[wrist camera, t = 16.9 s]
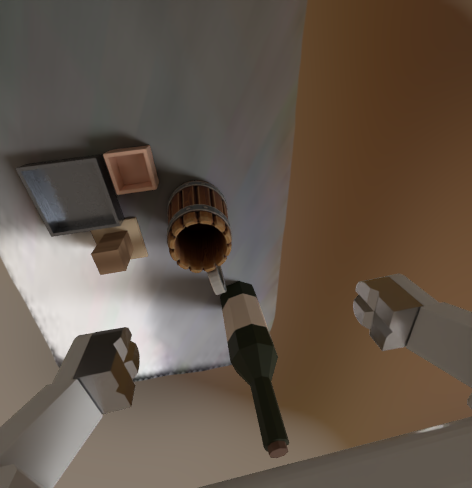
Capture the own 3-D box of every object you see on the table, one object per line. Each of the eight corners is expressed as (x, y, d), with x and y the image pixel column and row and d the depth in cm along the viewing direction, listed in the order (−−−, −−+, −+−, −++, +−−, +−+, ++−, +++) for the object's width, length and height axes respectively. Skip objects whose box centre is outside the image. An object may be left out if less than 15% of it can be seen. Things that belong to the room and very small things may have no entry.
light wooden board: (89, 224, 44) (88, 225, 43) (136, 217, 44) (135, 218, 44) (105, 261, 47) (104, 263, 47) (148, 254, 48) (147, 256, 48)
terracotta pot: (110, 149, 39) (102, 154, 35) (149, 145, 39) (145, 148, 36) (123, 187, 41) (117, 194, 38) (159, 182, 42) (156, 189, 39)
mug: (157, 190, 43) (143, 226, 30) (215, 170, 43) (227, 198, 30) (190, 261, 51) (191, 314, 38) (239, 244, 51) (257, 292, 38)
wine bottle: (262, 294, 58) (322, 445, 32) (236, 314, 60) (272, 473, 34) (239, 274, 54) (286, 428, 28) (212, 297, 56) (232, 461, 30)
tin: (27, 164, 38) (15, 168, 35) (101, 154, 39) (95, 158, 36) (59, 228, 43) (51, 236, 40) (124, 218, 44) (120, 225, 41)
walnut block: (104, 233, 44) (90, 254, 38) (127, 230, 45) (117, 249, 38) (112, 252, 46) (100, 274, 40) (134, 249, 47) (125, 270, 40)
